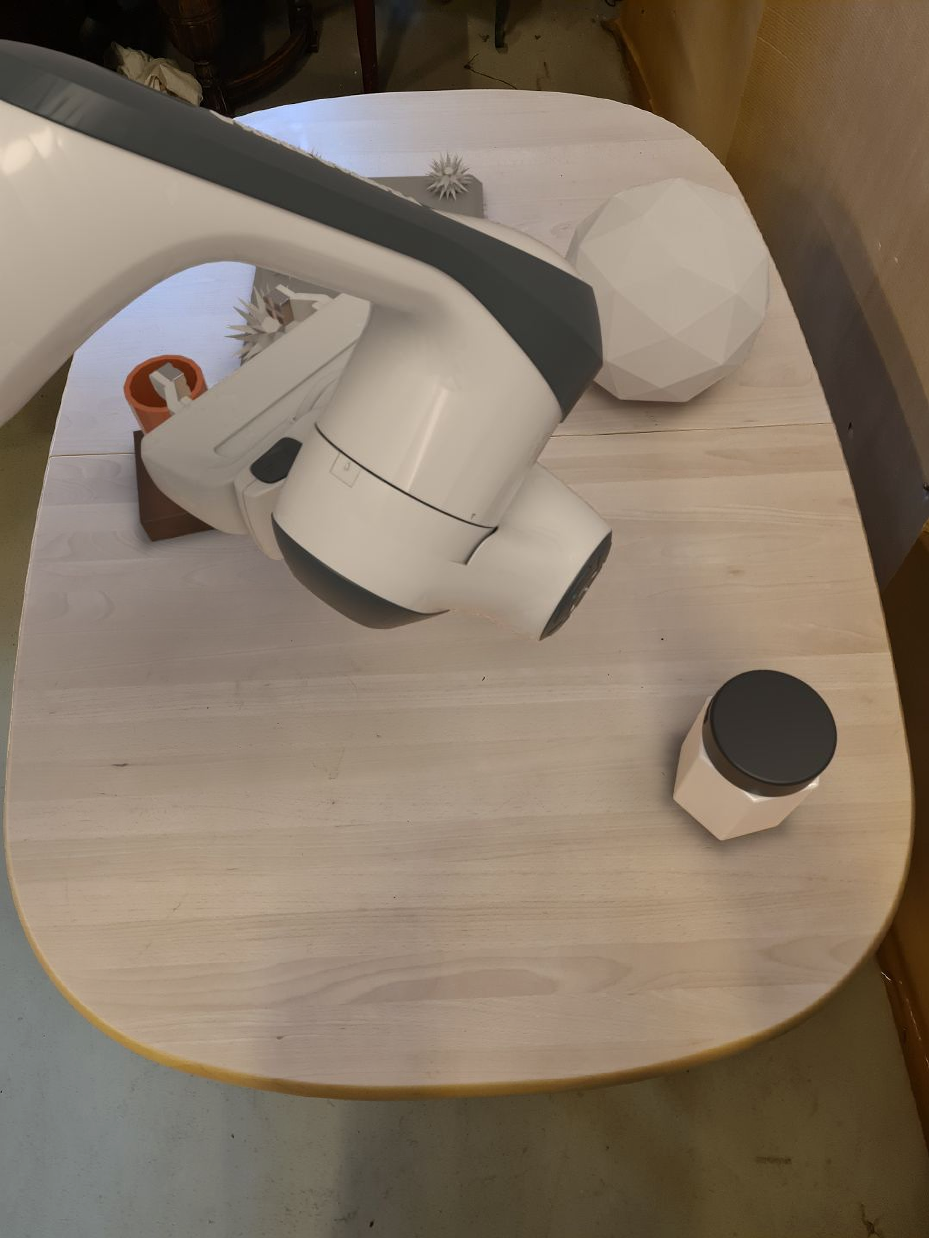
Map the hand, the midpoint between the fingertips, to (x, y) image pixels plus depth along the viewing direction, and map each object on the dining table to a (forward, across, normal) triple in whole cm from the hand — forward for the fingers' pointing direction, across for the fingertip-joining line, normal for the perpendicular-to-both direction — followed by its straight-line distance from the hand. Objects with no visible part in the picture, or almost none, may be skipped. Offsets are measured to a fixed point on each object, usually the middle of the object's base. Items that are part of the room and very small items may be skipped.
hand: (218, 336), depth 55 cm
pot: (+12, 0, +22) cm, 25 cm away
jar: (-41, -7, +25) cm, 49 cm away
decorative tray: (+19, -29, +25) cm, 43 cm away
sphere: (-11, -39, +25) cm, 48 cm away
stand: (+12, 0, +25) cm, 28 cm away
